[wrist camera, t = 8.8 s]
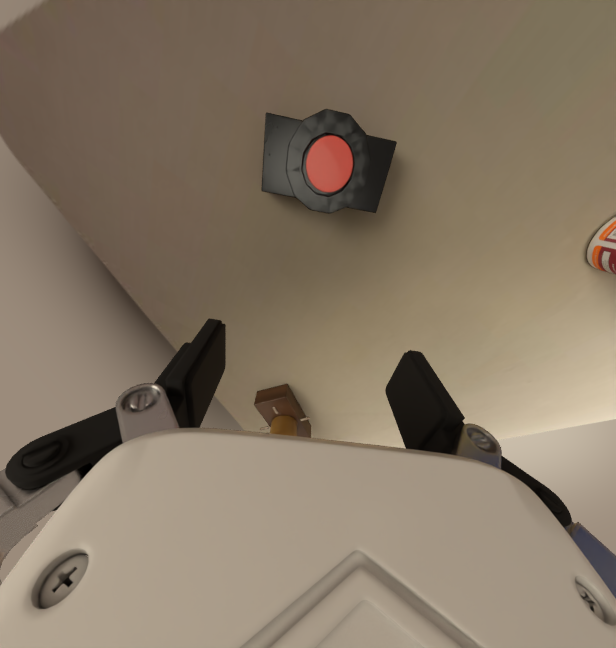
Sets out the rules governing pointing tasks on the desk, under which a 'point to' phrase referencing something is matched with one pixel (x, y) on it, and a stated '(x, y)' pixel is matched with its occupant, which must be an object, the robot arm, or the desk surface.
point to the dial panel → (282, 408)
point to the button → (329, 163)
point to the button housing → (292, 150)
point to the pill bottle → (604, 248)
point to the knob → (284, 426)
